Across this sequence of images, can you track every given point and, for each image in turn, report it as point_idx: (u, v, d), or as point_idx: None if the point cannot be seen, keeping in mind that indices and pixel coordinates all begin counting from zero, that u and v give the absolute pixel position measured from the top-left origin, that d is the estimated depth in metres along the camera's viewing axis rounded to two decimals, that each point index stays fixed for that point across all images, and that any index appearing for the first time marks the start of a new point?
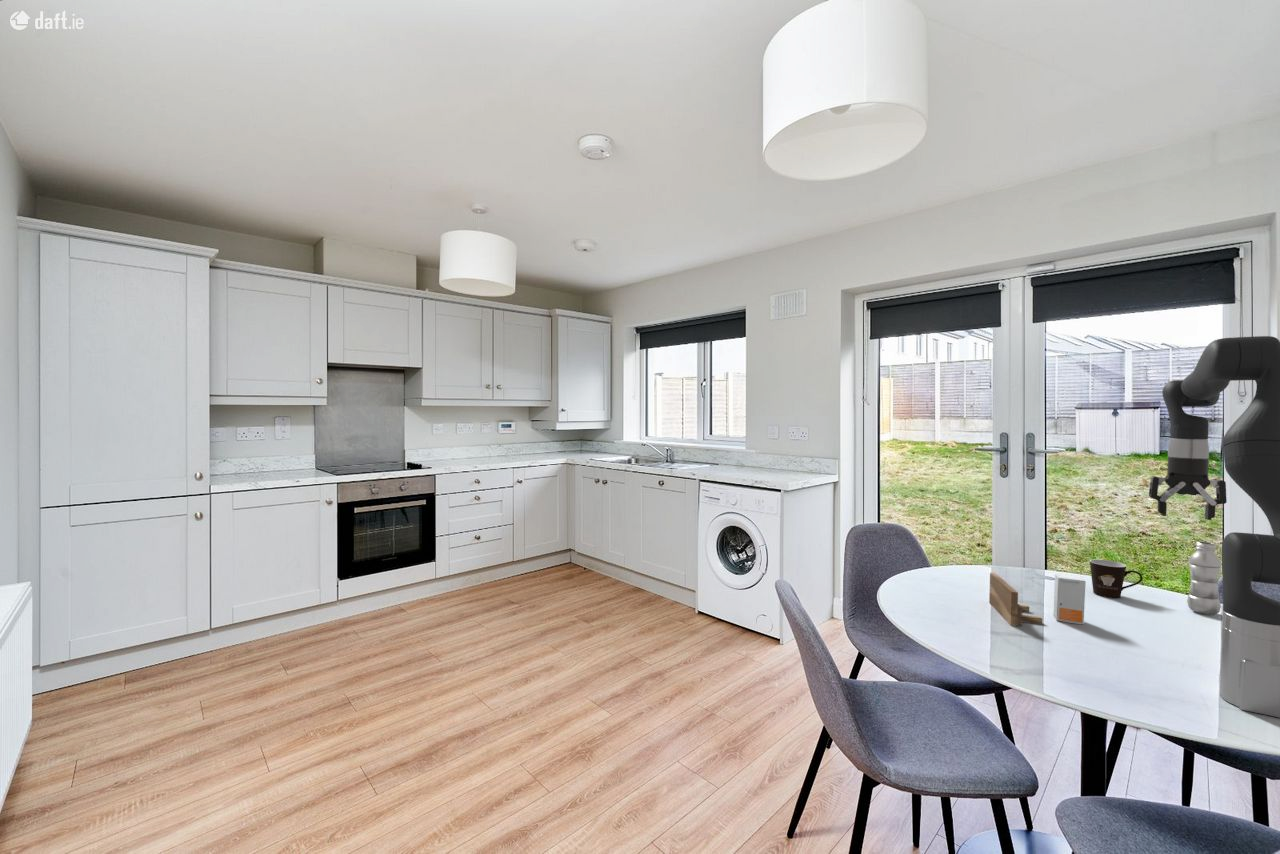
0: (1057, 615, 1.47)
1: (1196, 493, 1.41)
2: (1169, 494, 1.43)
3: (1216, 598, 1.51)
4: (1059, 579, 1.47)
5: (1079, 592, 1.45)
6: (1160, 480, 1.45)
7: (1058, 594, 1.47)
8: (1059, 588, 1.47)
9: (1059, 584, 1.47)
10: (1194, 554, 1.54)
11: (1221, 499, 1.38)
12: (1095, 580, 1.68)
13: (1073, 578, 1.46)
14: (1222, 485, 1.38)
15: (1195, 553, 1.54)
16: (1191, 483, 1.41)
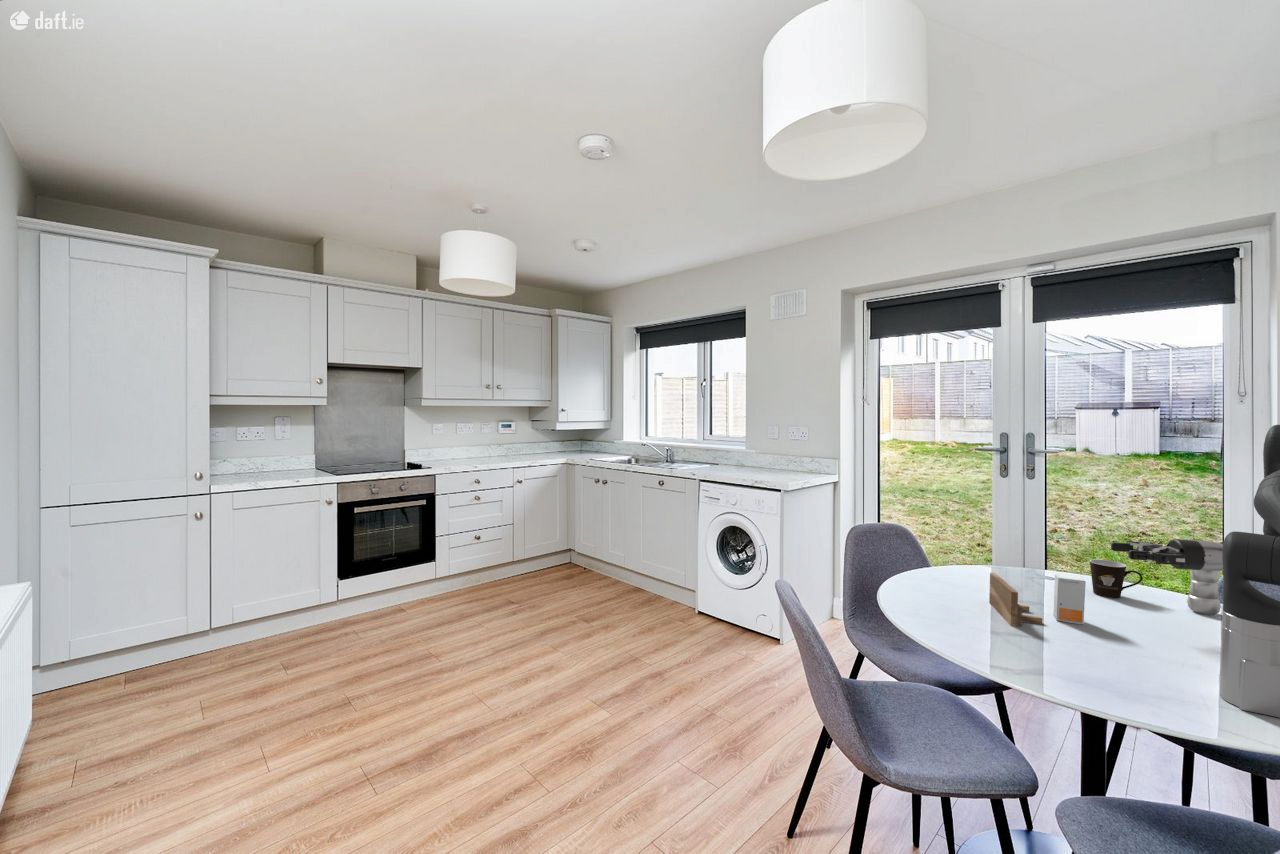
0: (1057, 615, 1.47)
1: None
2: (1140, 542, 1.45)
3: (1216, 598, 1.51)
4: (1059, 579, 1.47)
5: (1079, 592, 1.45)
6: None
7: (1058, 594, 1.47)
8: (1059, 588, 1.47)
9: (1059, 584, 1.47)
10: None
11: (1160, 553, 1.36)
12: (1095, 580, 1.68)
13: (1073, 578, 1.46)
14: (1178, 554, 1.35)
15: None
16: None
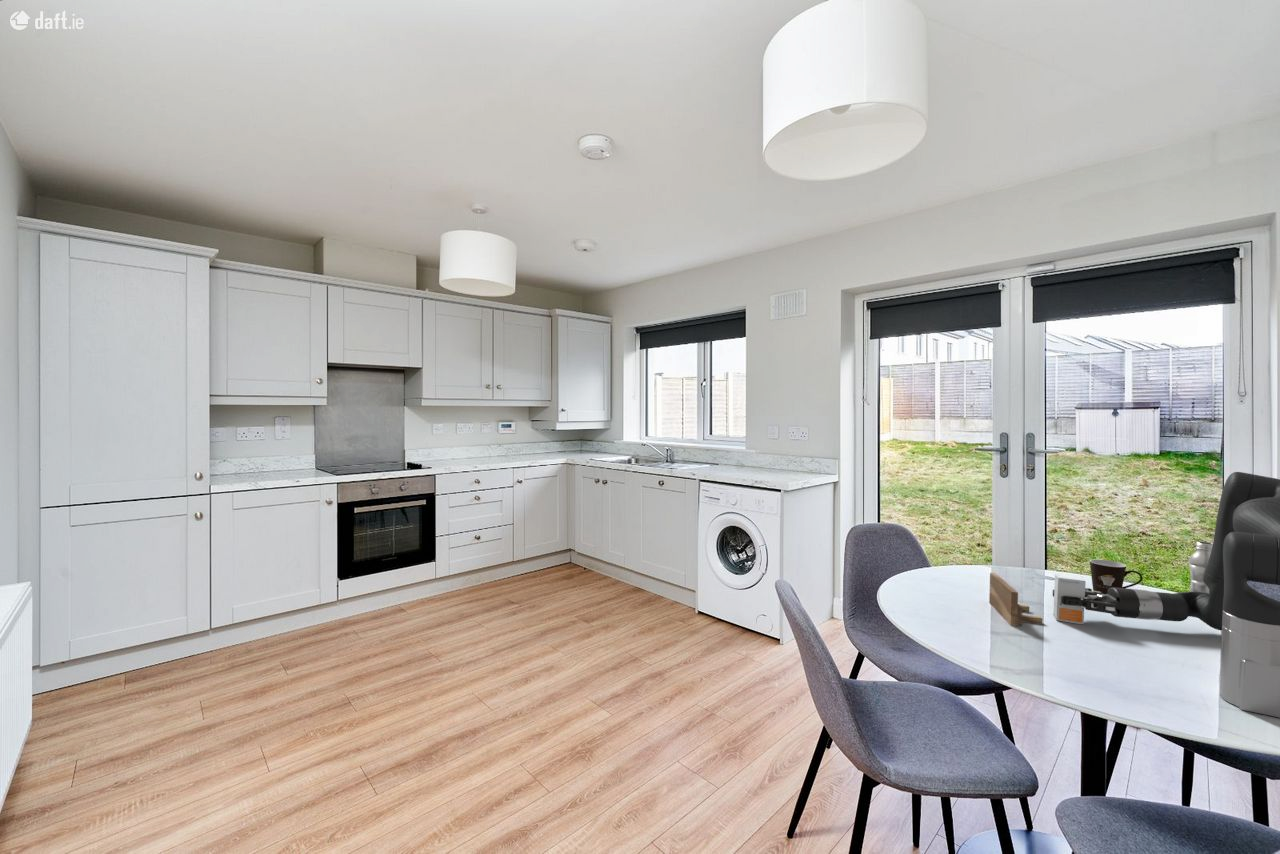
0: (1057, 615, 1.47)
1: None
2: None
3: None
4: (1059, 579, 1.47)
5: (1079, 592, 1.45)
6: None
7: (1058, 594, 1.47)
8: (1059, 588, 1.47)
9: (1059, 584, 1.47)
10: (1194, 554, 1.54)
11: (1090, 600, 1.42)
12: (1095, 580, 1.68)
13: (1073, 578, 1.46)
14: (1108, 603, 1.40)
15: (1195, 553, 1.54)
16: None
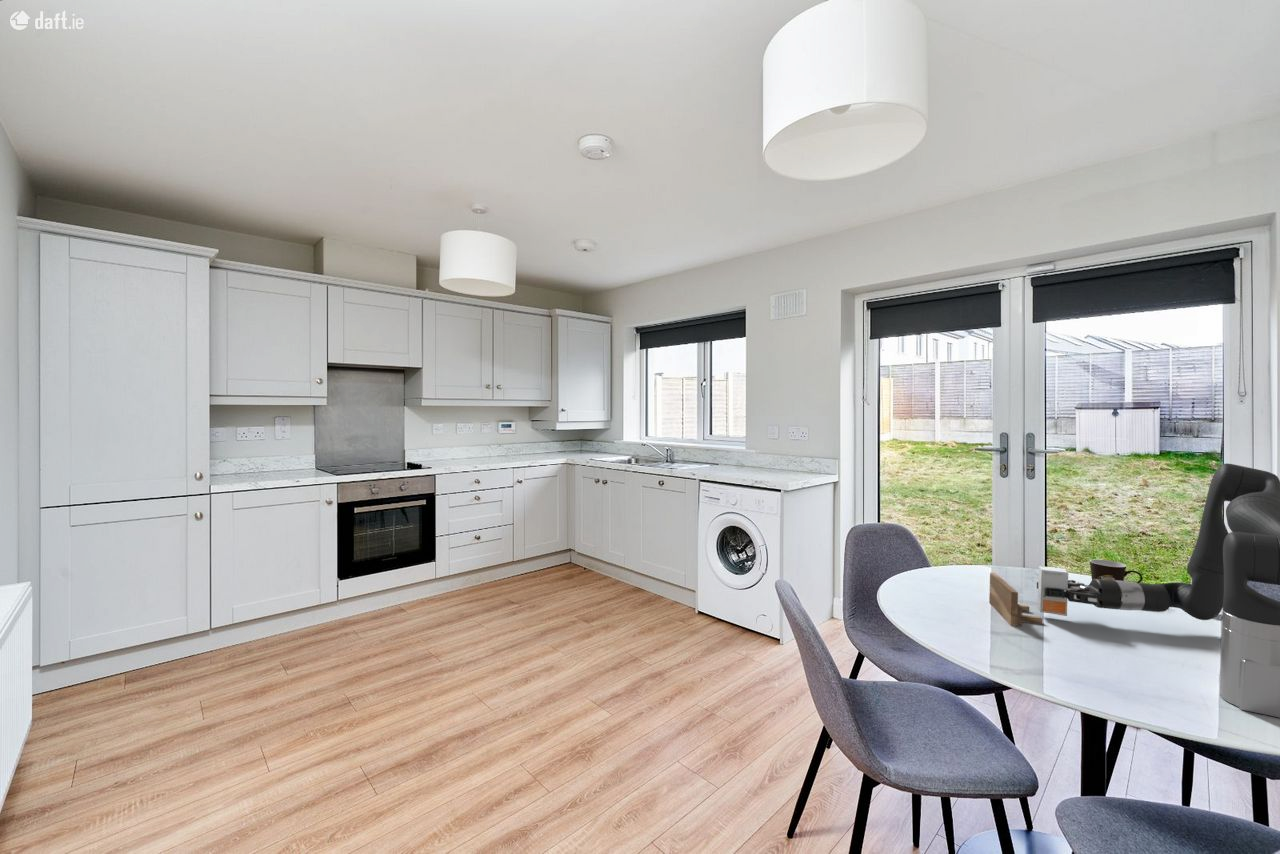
0: (1041, 607, 1.48)
1: None
2: None
3: None
4: (1042, 571, 1.48)
5: (1062, 584, 1.46)
6: None
7: (1041, 586, 1.48)
8: (1042, 580, 1.48)
9: (1042, 576, 1.48)
10: None
11: (1073, 591, 1.43)
12: None
13: (1056, 570, 1.47)
14: (1091, 594, 1.41)
15: None
16: None
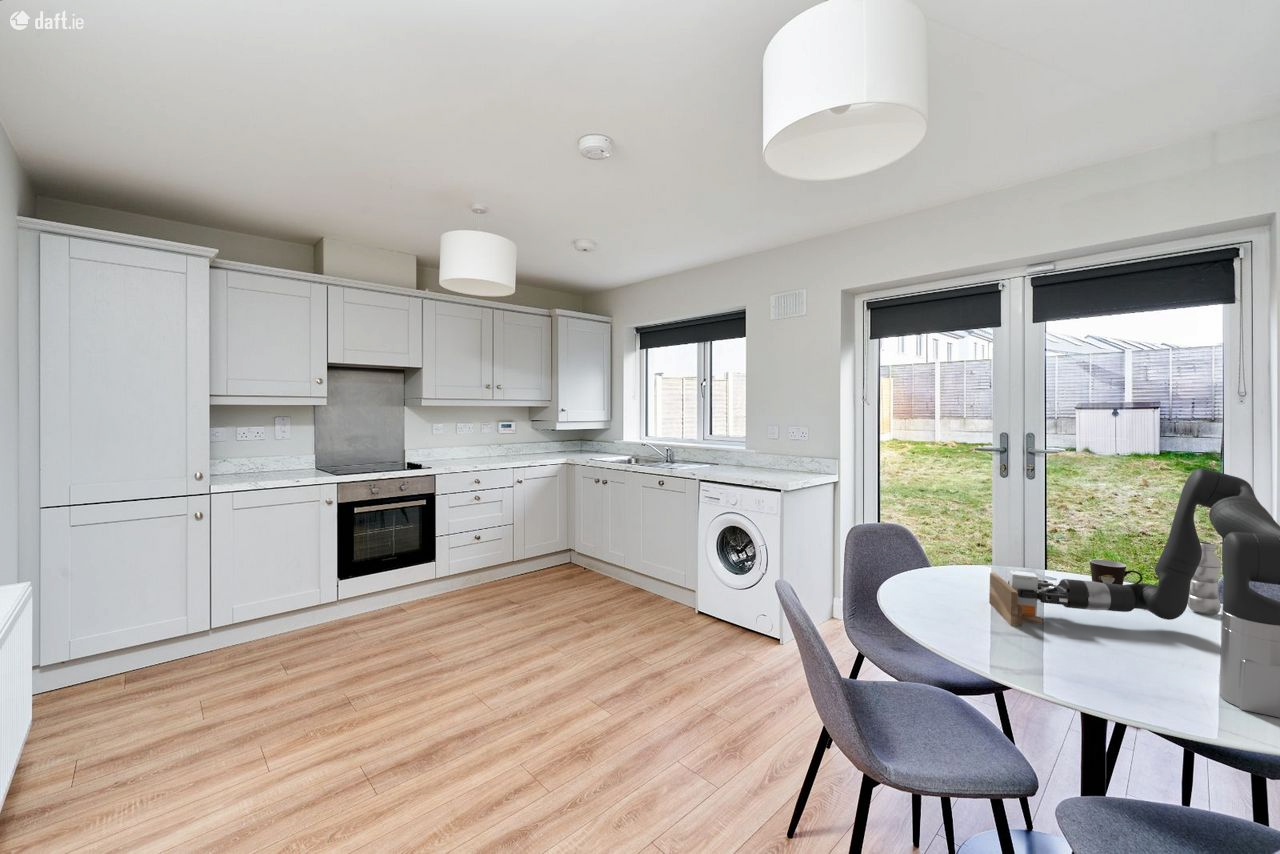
0: None
1: None
2: None
3: (1216, 598, 1.51)
4: (1013, 576, 1.50)
5: (1032, 588, 1.48)
6: None
7: None
8: (1013, 584, 1.50)
9: (1013, 581, 1.50)
10: None
11: (1045, 593, 1.44)
12: (1095, 580, 1.68)
13: (1026, 574, 1.49)
14: (1062, 595, 1.43)
15: None
16: None
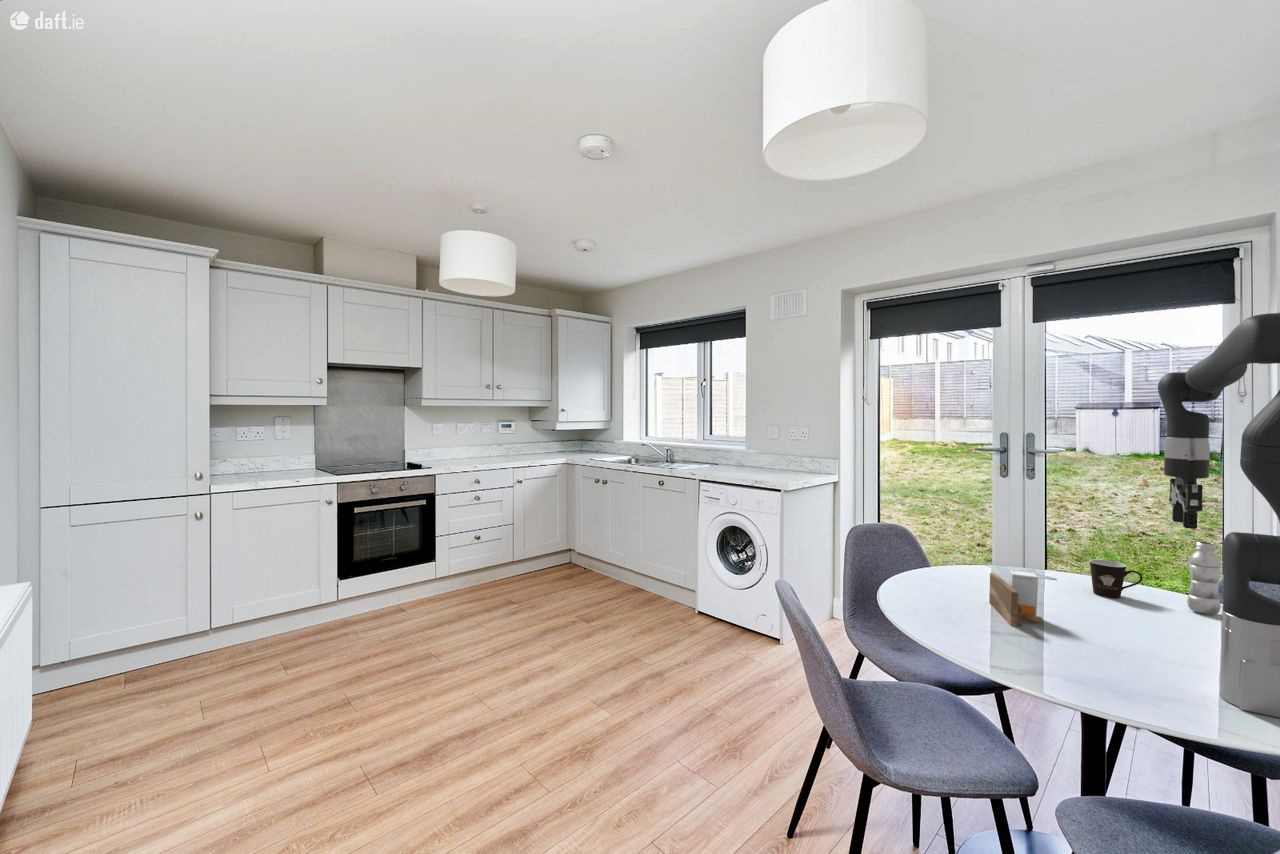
0: None
1: None
2: None
3: (1216, 598, 1.51)
4: (1013, 575, 1.50)
5: (1032, 588, 1.48)
6: None
7: None
8: (1013, 584, 1.50)
9: (1013, 580, 1.50)
10: (1194, 554, 1.54)
11: (1186, 505, 1.24)
12: (1095, 580, 1.68)
13: (1026, 574, 1.49)
14: (1186, 489, 1.24)
15: (1195, 553, 1.54)
16: None
